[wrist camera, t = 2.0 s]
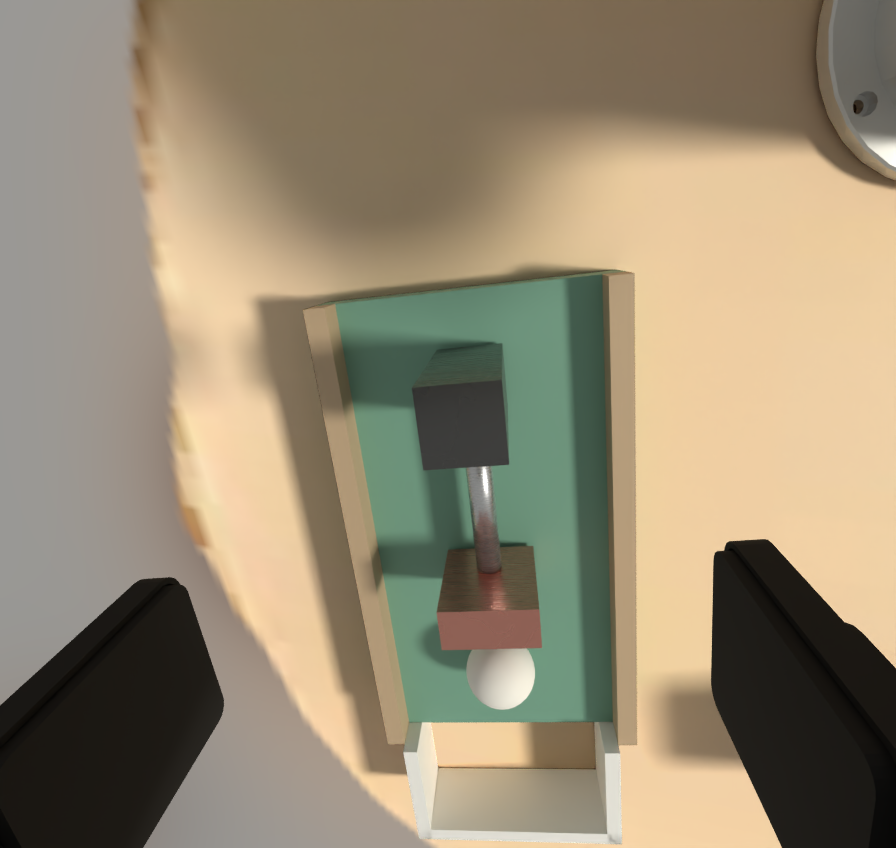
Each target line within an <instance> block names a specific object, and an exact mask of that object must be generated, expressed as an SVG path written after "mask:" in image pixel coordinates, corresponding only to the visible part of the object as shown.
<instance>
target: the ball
mask: <svg viewBox="0 0 896 848" xmlns="http://www.w3.org/2000/svg"><path fill="white" fill-rule="evenodd" d="M466 673H467V680H468V683H469V686H470V688H471V690H472V692H473V694H474V695H475V696H476V697H477V698H478V700H479V701H481V702H482V703H483V704H485V705H487V706H488V707H491V708H494V709H500V710H505V709H510V708H513V707H516V706H517V705H519V704H521V703H522V702H523V701H524V700H525V699H526V698H527V697H528V695H529V694H530V692H531V690H532V687H533V685H534V680H535V667H534V662H533V659H532V656H531V655H530V653H529V651H528V649H527V648H524V649H476V650H472V651H471V653H470V655H469V657H468V661H467V667H466Z"/></svg>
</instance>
